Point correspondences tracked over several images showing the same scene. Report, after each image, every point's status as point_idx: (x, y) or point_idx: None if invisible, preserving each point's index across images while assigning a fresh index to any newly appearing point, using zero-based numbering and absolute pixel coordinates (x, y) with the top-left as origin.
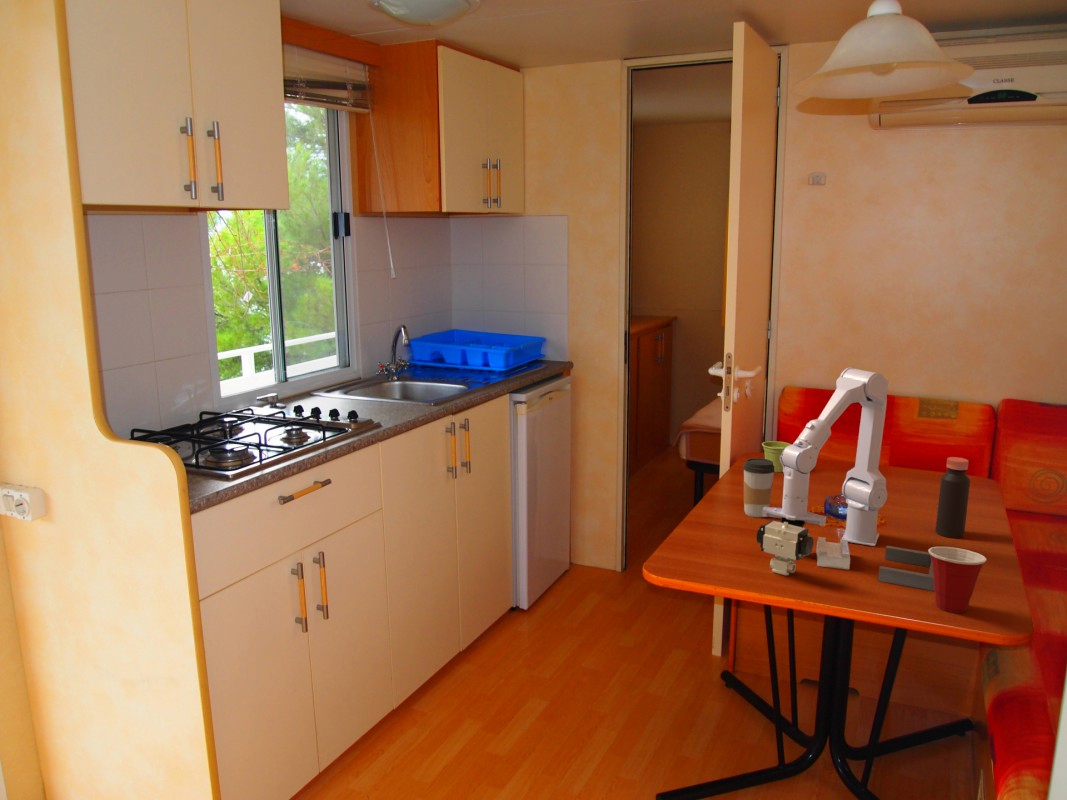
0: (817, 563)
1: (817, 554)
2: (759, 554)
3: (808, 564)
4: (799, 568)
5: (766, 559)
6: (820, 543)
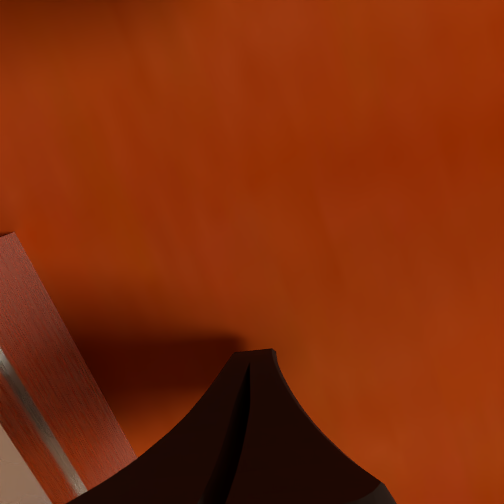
0: (12, 248)
1: (46, 355)
2: (453, 189)
3: (72, 220)
4: (82, 93)
5: (371, 114)
6: (9, 457)
